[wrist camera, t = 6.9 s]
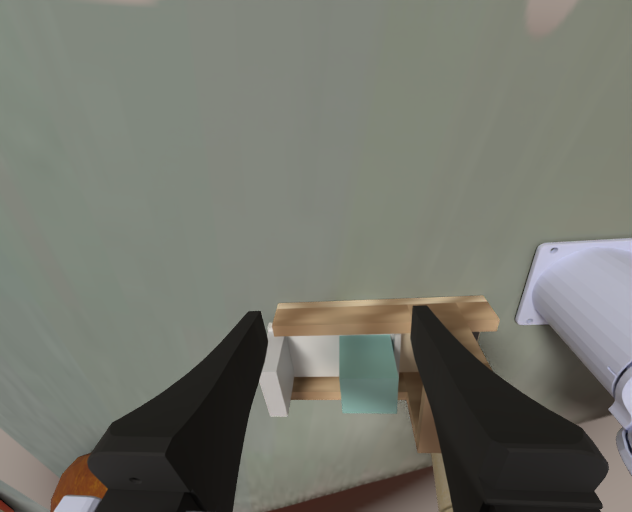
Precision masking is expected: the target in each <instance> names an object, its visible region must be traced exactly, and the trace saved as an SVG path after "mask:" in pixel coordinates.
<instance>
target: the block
mask: <svg viewBox="0 0 632 512" xmlns="http://www.w3.org/2000/svg"><path fill="white" fill-rule="evenodd" d="M339 382H340V391H341V401H342V411H343V413H396V414H397V401H398V382H399V377H398V372H397V367H396V362H395V357H394V352H393V347H392V342H391V337H390V335H348V336H339Z"/></svg>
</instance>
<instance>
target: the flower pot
mask: <svg viewBox="0 0 632 512" xmlns="http://www.w3.org/2000/svg"><path fill="white" fill-rule="evenodd" d="M431 456H432V463H433V470H434V477H435V484H436V493H437V500H438V508H439V512H453V508H452V503H451V497H450V492H449V487H448V482H447V478H446V473H445V468H444V463H443V458H442V454H441V453H431Z"/></svg>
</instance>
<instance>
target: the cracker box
mask: <svg viewBox="0 0 632 512" xmlns="http://www.w3.org/2000/svg"><path fill="white" fill-rule="evenodd" d="M0 512H14V510H13V509H11V508H10V507H9V506H8V505H6V504H5V503H4V502H3V501H2V500H0Z"/></svg>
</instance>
